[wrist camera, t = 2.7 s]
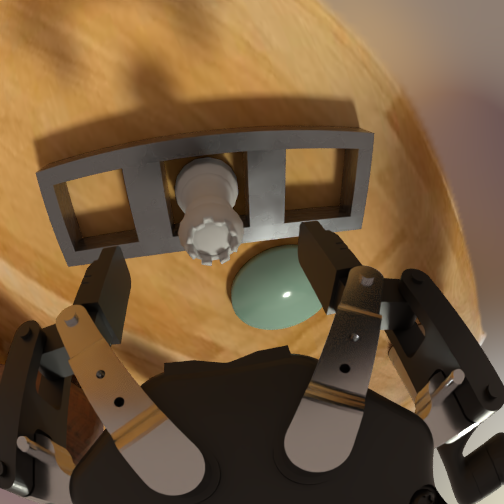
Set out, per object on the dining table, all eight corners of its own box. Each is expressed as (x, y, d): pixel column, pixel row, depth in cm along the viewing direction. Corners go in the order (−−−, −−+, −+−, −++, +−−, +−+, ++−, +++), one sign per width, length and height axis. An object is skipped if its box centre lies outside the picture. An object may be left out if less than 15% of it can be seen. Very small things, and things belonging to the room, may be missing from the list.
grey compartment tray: (360, 128, 19) (374, 133, 17) (350, 217, 23) (361, 228, 21) (48, 164, 15) (35, 172, 14) (75, 252, 20) (68, 266, 18)
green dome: (337, 238, 24) (341, 243, 23) (323, 314, 30) (326, 319, 29) (226, 252, 23) (227, 258, 22) (234, 330, 28) (235, 336, 28)
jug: (141, 397, 34) (-15, 261, 22) (139, 514, 16) (-103, 336, 4) (85, 437, 35) (-39, 337, 23) (75, 522, 17) (-87, 406, 5)
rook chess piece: (244, 201, 21) (269, 264, 14) (188, 221, 21) (187, 291, 14) (226, 146, 18) (244, 184, 11) (165, 169, 18) (148, 220, 11)
